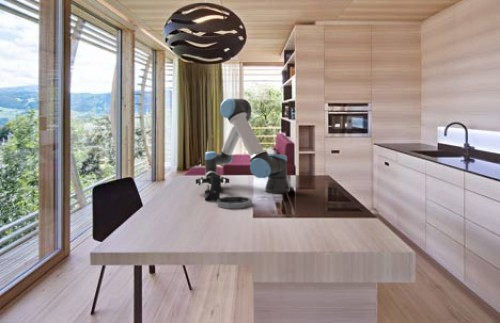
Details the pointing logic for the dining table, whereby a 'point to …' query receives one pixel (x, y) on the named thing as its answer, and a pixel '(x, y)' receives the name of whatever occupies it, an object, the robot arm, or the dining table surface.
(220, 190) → the scope
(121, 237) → the dining table surface
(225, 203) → the dark grey octagonal bowl
